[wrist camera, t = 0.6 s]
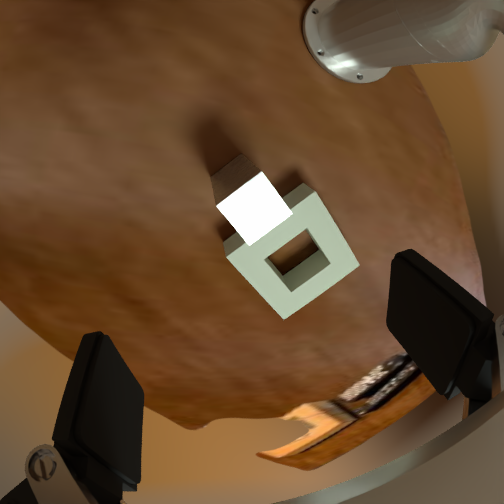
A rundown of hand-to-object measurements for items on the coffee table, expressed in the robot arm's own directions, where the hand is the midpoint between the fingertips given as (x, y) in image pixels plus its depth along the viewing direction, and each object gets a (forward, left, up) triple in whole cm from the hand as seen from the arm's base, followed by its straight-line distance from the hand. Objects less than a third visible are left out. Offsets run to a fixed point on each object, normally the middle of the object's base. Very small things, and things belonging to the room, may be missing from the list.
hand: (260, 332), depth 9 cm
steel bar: (-1, +3, -27) cm, 27 cm away
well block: (-1, +14, -27) cm, 30 cm away
